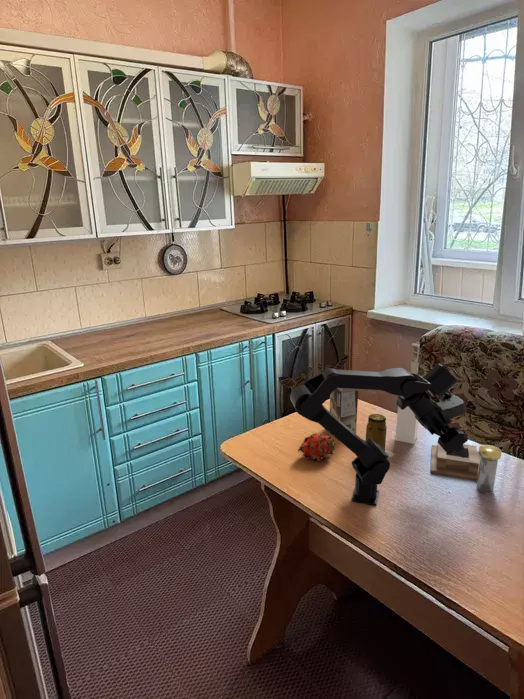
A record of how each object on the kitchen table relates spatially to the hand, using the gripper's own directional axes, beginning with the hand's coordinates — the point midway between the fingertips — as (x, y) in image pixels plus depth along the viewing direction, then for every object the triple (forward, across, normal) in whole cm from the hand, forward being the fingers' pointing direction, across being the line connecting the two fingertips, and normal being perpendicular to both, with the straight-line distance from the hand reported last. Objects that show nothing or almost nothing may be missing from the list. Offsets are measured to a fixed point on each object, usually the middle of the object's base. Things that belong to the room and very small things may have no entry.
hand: (456, 447), depth 129 cm
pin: (+15, -1, +1) cm, 16 cm away
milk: (+10, +30, +9) cm, 33 cm away
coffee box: (-2, +38, +24) cm, 45 cm away
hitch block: (+15, +12, +2) cm, 20 cm away
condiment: (+2, +21, +19) cm, 29 cm away
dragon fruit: (-11, +20, +34) cm, 41 cm away
